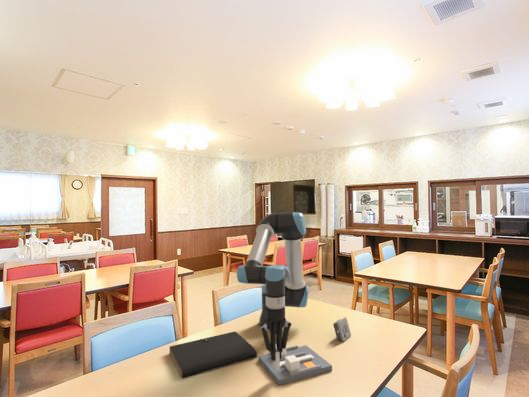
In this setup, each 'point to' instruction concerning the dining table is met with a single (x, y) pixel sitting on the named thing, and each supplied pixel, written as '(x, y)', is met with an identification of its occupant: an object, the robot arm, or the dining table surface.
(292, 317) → the dining table surface
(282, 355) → the inner tab
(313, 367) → the switch panel
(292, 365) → the outer tab
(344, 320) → the electrical switch
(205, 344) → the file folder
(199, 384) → the dining table surface
